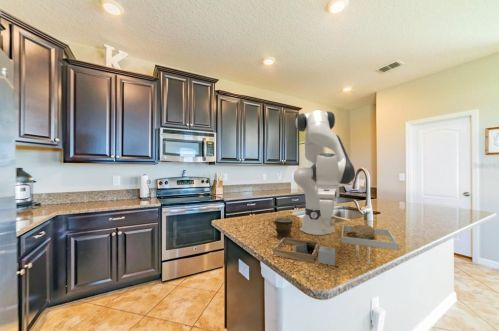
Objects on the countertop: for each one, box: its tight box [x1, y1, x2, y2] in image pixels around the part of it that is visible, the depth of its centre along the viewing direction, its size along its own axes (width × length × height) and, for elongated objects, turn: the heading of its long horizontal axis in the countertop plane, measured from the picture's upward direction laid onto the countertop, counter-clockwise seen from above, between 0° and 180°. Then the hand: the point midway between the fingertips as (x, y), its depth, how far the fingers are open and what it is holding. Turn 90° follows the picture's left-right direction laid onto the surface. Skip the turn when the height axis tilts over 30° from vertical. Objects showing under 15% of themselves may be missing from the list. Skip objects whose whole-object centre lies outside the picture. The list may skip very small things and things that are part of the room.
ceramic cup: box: [268, 217, 294, 240], centre depth 118 cm, size 13×10×10 cm
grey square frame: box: [341, 224, 399, 250], centre depth 116 cm, size 24×24×3 cm
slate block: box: [317, 245, 336, 267], centre depth 87 cm, size 6×6×5 cm
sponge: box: [345, 224, 375, 240], centre depth 118 cm, size 13×8×20 cm
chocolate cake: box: [294, 240, 315, 255], centre depth 95 cm, size 10×7×12 cm
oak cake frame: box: [272, 237, 320, 264], centre depth 97 cm, size 17×17×3 cm
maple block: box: [321, 216, 336, 233], centre depth 87 cm, size 5×5×5 cm
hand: (328, 225), depth 87 cm, fingers closed on maple block, 5 cm apart
